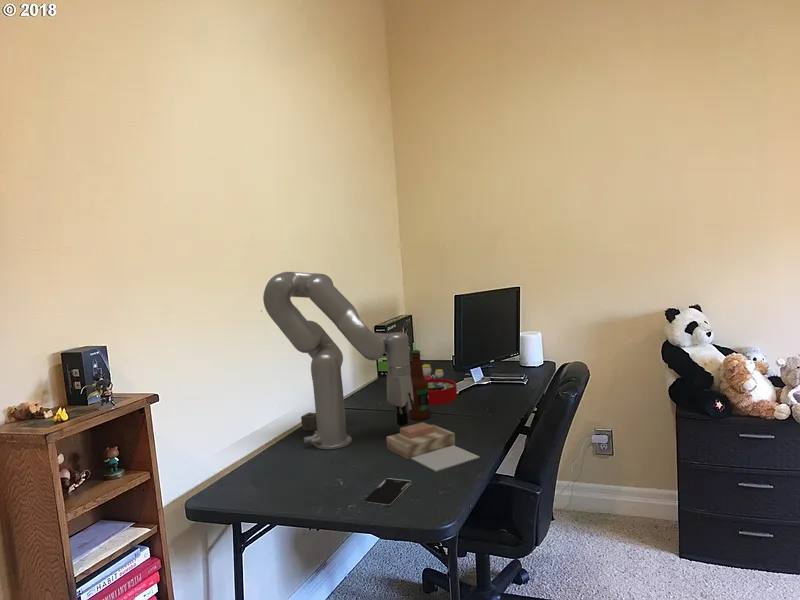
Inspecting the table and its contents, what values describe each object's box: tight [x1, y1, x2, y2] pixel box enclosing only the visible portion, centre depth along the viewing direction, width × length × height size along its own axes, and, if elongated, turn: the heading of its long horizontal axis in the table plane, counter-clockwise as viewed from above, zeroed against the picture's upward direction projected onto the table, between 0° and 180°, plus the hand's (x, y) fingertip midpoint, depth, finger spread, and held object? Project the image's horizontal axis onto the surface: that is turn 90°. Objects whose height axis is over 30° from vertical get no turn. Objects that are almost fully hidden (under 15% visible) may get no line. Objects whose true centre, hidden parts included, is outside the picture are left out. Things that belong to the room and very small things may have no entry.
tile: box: [399, 421, 434, 439], centre depth 200 cm, size 9×6×2 cm, turn 122°
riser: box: [385, 424, 456, 460], centre depth 199 cm, size 18×12×4 cm, turn 122°
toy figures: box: [422, 363, 446, 379], centre depth 280 cm, size 12×4×8 cm, turn 70°
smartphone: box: [363, 477, 412, 505], centre depth 166 cm, size 8×1×15 cm
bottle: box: [409, 349, 431, 421], centre depth 229 cm, size 7×7×25 cm
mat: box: [411, 445, 481, 473], centre depth 188 cm, size 16×13×1 cm
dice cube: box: [300, 412, 317, 431], centre depth 225 cm, size 5×5×5 cm
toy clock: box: [426, 378, 458, 406], centre depth 254 cm, size 20×6×20 cm
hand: (402, 424), depth 207 cm, fingers closed
